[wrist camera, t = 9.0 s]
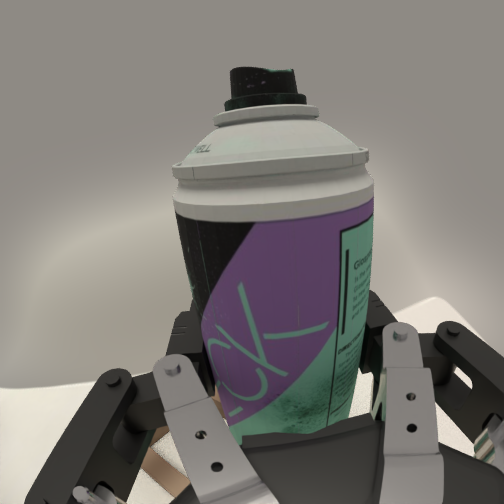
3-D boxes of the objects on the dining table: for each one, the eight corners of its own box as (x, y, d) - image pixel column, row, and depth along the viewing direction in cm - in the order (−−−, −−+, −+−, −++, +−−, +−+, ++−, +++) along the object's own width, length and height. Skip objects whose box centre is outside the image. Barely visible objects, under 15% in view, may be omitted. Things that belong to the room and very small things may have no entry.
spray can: (272, 425, 18) (234, 92, 10) (345, 448, 15) (376, 74, 7) (229, 483, 13) (115, 87, 6) (310, 516, 11) (327, 14, 3)
